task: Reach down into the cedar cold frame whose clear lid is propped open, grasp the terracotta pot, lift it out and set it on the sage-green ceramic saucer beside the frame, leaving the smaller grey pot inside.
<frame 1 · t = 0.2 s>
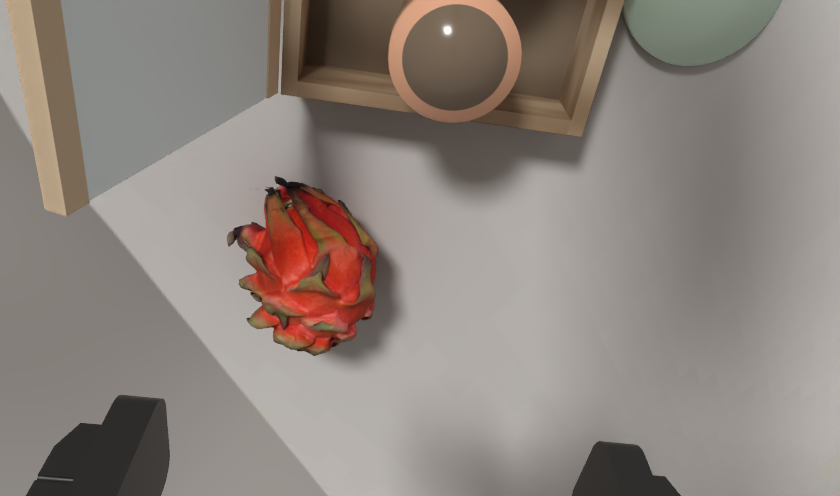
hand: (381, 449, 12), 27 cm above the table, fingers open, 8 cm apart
terracotta pot: (445, 19, 34), resting on cold frame
dragon fruit: (315, 233, 41), on the table
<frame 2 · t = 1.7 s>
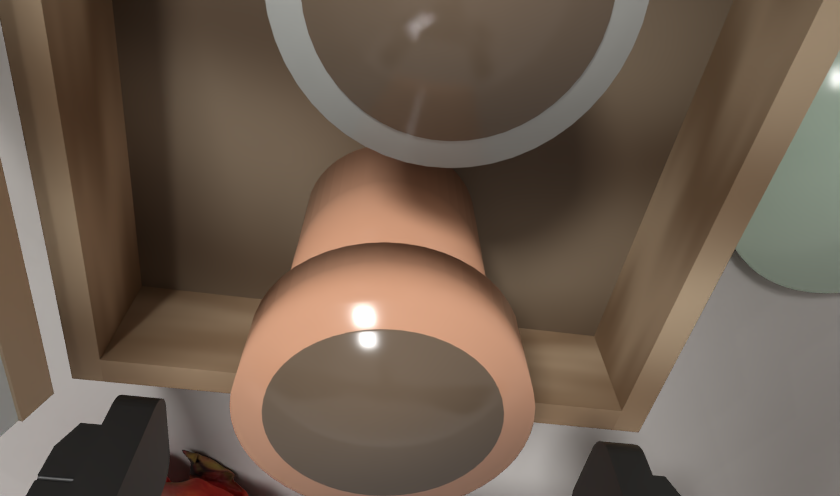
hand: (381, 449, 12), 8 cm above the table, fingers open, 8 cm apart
cold frame: (410, 91, 16), on the table
terracotta pot: (390, 221, 18), resting on cold frame
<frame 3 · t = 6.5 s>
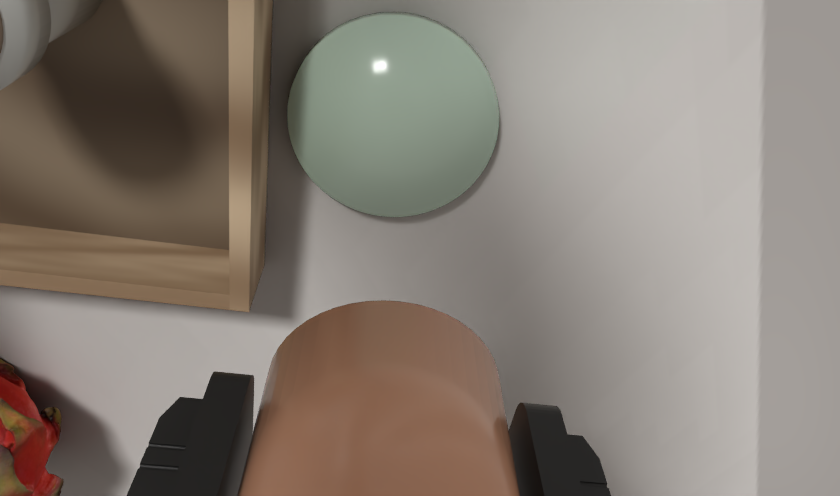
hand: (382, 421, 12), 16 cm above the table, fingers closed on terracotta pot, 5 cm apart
cold frame: (59, 71, 24), on the table
terracotta pot: (384, 391, 13), point 15 cm above the table, touching gripper
saucer: (393, 119, 26), on the table
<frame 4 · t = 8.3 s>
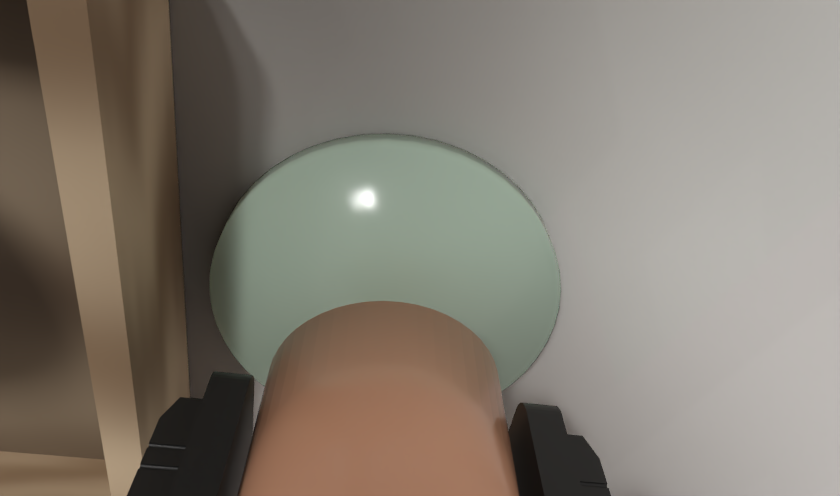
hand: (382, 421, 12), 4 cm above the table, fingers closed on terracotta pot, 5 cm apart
terracotta pot: (384, 392, 13), point 3 cm above the table, touching gripper
saucer: (387, 289, 16), on the table
when the fingers open (3 cm above the table, at t = 9.6 s): terracotta pot drops 1 cm, resting on saucer.
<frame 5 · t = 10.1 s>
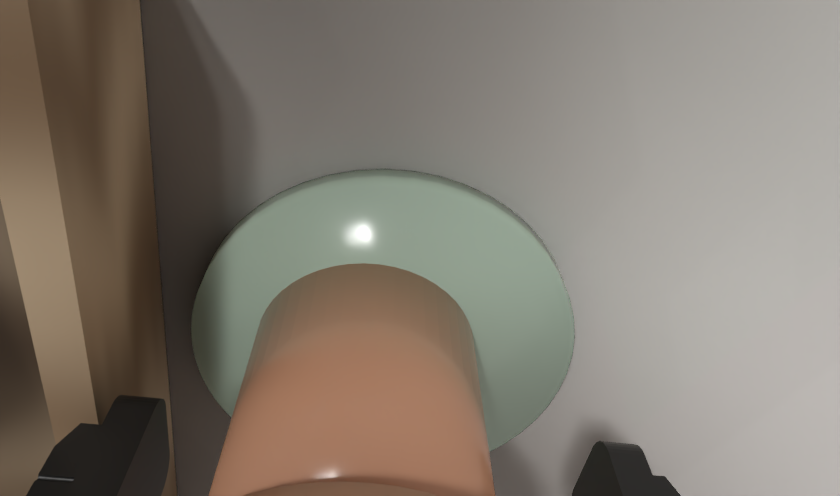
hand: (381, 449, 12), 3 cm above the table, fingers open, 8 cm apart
terracotta pot: (366, 352, 14), point 1 cm above the table, touching saucer
saucer: (385, 333, 15), on the table
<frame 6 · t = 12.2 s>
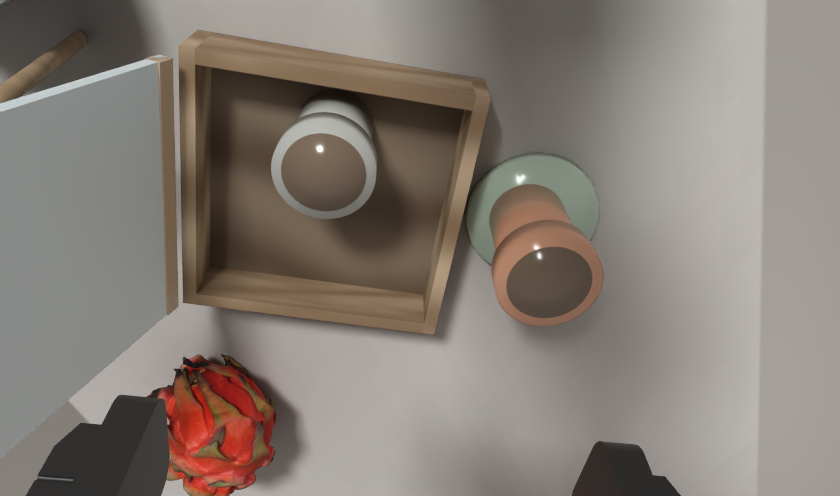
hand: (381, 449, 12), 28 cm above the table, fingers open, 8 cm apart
cold frame: (329, 183, 39), on the table
terracotta pot: (526, 218, 40), point 1 cm above the table, touching saucer
dragon fruit: (226, 386, 48), on the table
saucer: (531, 213, 41), on the table
lid: (74, 252, 29), point 11 cm above the table, hinge at 108.0°
grey pot: (336, 126, 37), resting on cold frame
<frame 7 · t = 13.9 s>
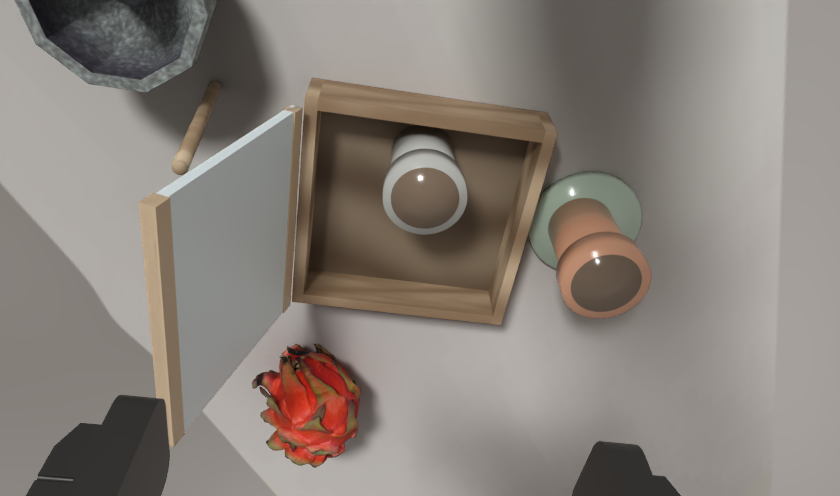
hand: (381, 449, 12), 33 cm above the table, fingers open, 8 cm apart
cold frame: (413, 199, 47), on the table
terracotta pot: (579, 226, 47), point 1 cm above the table, touching saucer
dragon fruit: (315, 370, 56), on the table
saucer: (583, 221, 48), on the table
lid: (234, 267, 36), point 11 cm above the table, hinge at 108.0°
grey pot: (422, 153, 44), resting on cold frame
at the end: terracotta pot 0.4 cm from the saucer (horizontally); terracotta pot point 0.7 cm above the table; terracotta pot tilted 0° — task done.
